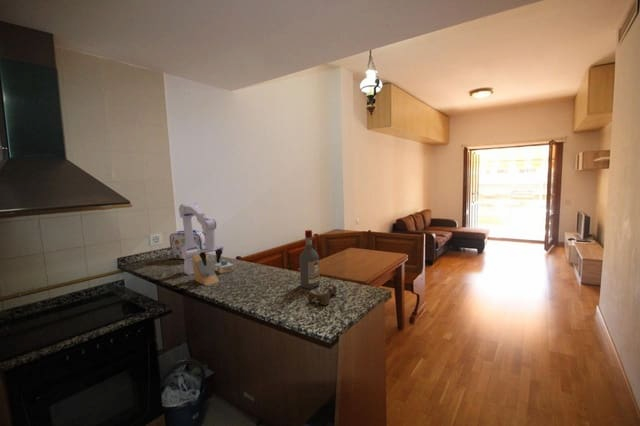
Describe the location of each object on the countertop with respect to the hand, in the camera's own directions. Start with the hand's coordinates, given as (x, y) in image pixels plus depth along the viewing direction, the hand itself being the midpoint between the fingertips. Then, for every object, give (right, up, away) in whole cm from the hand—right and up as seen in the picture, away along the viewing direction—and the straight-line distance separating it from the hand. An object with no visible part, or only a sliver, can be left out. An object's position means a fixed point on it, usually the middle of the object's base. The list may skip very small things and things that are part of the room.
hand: (211, 264), depth 178 cm
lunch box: (-35, -5, +54) cm, 64 cm away
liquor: (+57, -10, -10) cm, 59 cm away
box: (+1, -8, +20) cm, 22 cm away
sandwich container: (-4, -10, +2) cm, 11 cm away
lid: (+1, -5, +20) cm, 20 cm away
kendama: (+64, -13, -31) cm, 72 cm away
